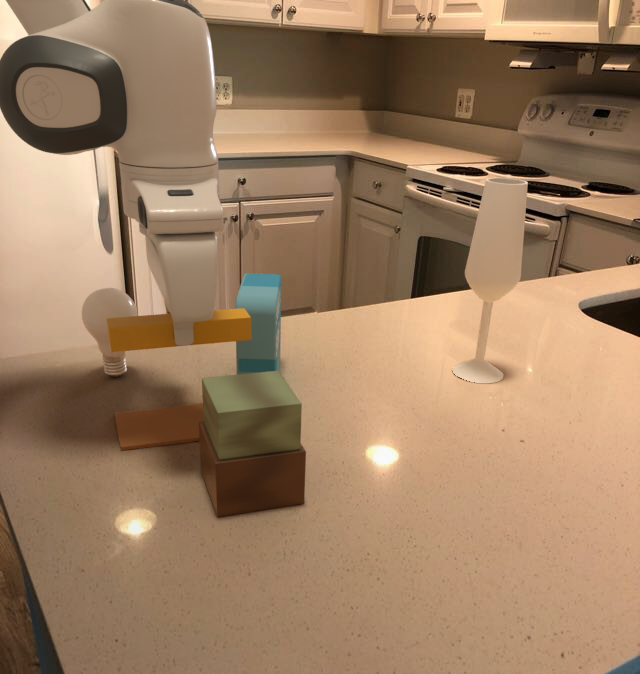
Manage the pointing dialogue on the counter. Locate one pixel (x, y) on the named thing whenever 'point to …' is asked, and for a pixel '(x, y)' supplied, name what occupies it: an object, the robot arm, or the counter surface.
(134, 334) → the bar
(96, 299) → the lightbulb
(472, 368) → the champagne flute
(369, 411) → the counter surface
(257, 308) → the data package
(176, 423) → the cork mat
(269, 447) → the tower
